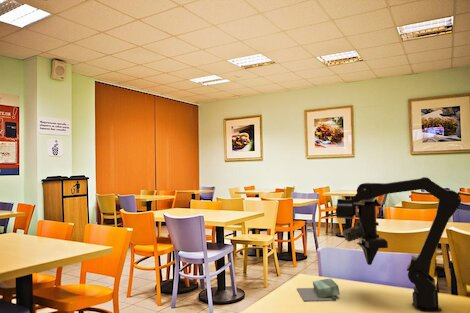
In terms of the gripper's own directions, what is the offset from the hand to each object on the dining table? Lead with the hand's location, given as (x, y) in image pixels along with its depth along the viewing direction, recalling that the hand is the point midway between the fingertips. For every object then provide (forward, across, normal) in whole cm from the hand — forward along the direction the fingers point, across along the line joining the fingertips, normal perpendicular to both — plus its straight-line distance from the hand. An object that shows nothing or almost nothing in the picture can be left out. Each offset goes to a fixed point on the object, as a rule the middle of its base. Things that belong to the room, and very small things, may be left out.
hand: (369, 264), depth 127 cm
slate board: (+12, -7, -18) cm, 23 cm away
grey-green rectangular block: (+9, -7, -10) cm, 15 cm away
